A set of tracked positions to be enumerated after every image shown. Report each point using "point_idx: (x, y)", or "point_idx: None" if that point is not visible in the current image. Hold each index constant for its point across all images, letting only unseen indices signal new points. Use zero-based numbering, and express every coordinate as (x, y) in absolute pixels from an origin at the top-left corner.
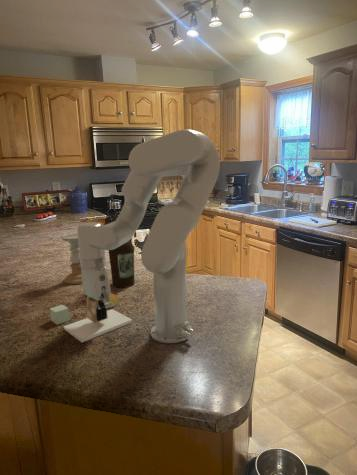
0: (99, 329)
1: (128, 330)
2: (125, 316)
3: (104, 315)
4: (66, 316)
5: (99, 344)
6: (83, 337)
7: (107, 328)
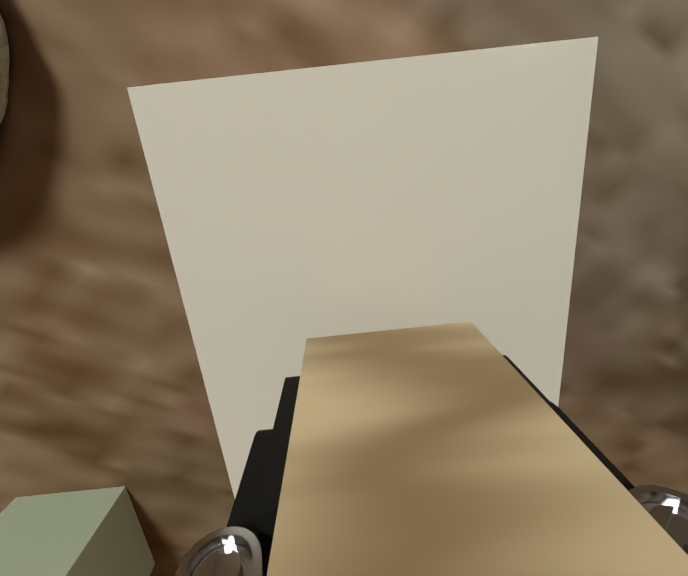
0: None
1: (674, 184)
2: (457, 56)
3: None
4: (106, 547)
5: (646, 455)
6: None
7: (550, 353)
